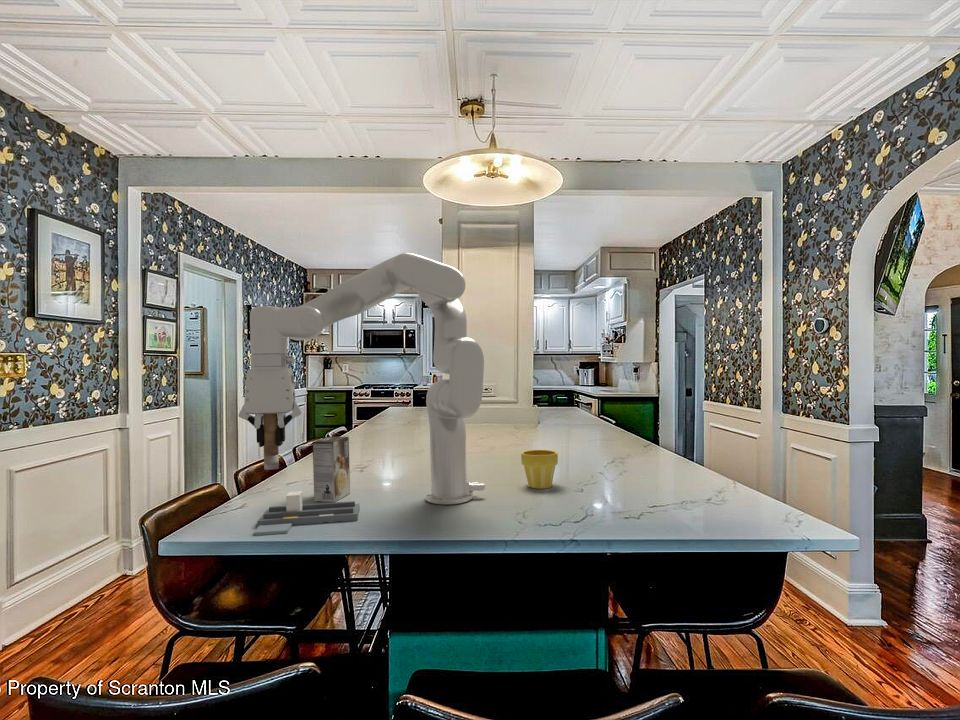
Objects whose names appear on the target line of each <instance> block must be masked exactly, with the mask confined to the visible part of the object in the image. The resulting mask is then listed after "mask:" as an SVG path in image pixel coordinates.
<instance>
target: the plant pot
mask: <svg viewBox="0 0 960 720" xmlns="http://www.w3.org/2000/svg"><path fill="white" fill-rule="evenodd" d="M520 454H521V455H520V458H521V460H520V461H521V464H522V465H523V468H524V472H525V475H526V479H527V480H526V481H527V485H528V487H529V488H533V489H536V490H537V489H538V490H540V489H541V490H543V489H545V490H546V489H549V488H552V486H553V481H554V475H555V470H556V466H557V465H558V460H559V458H558V456H559V454H558V452H557V451H555V450H551V449H528V450H524V451H522V452H520Z"/></svg>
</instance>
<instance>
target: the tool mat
mask: <svg viewBox="0 0 960 720" xmlns="http://www.w3.org/2000/svg"><path fill="white" fill-rule="evenodd" d="M292 526H293V525H292V523H287V524H273V525H259V526H258V525H257V528H256V529H255V531H253V536H263V535H264V536H265V535H266V536H267V535H279V534H280V535H281V534H288V533H289V531H290V530H291V528H292Z"/></svg>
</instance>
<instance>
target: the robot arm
mask: <svg viewBox="0 0 960 720" xmlns="http://www.w3.org/2000/svg"><path fill="white" fill-rule="evenodd" d="M409 289H412V290H415V291H416V292H417V295H418V297H419V299H421V301H422V302H423V303H425V305H427V307H428V308H429V309H430V311H431V313H432V316H433V318H434V338H433V339H434V341H433V344H434V345H433V352H432V353H433V354H432V360H433V361H432V362H433V365H434V367H435V369H436V370H437V371H438V372H440V373H441V374H445V375H449V376H448V377H449V379H448V378H447V379H446V378H445V379H439V380H437V381H435V382H433V383H432V384H431V385H430V387H428V390H427V392H426V399H425V402H426V403H425V405H426V410H427V415H428V422H429V449H430V451H429V453H430V454H429V455H430V491H428V492H426V493H425V496H424V499H425V501H426V502H428V503H431V504H436V505H458V504H459V505H460V504H463V503H466V502H470V501H471V500H472V499H473V498H474V493H473V492H474V491H478V492H479V491H480V492H482V491H485V489H486V488H485V482H478V481H475V482H474V481H473V482H471V481H469V480H468V477H467V476H468V475H467V431H466V430H467V429H466V423H465V419H468V418H471V417H473V416H474V415H475V414H476V413H477V412H478V411H479V410H480V407H481V405H482V400H483V389H484V373H485V372H484V371H485V356H484V352H483V349H482V347H481V345H480V344H479V343H478V342H477V341H476V340H475V339H473V338H470V337H468V336H467V335H468V333H467V331H468V330H467V329H468V327H467V326H468V323H467V315H466V311H465V308H464V306H463V304H462V303H461V301H460V299H459V298H461V297H462V296H463V295H464V293H465V290H466V280H465V277H464V275H463V274H462V272H460V271H459V270H458V269H457V268H455V267H453V266H450V265H448V264H446V263H445V264H444V263H442V262H439V261H436V260H433V259H430V258H428V257H425V256H422V255H419V254H416V253H412V252H411V253H410V252H403V253H399V254H397V255H395V256H393V257H391V258H389V259H386V260H384V261H382V262H380V263H378V264H376V265H374V266H372V267H370V268H368V269H366V270H365V271H362V272H361V273H358V274H356V275H354V276H352V277H351V278H348V279H347V280H344V281H343V282H341V283H340V284H339V283H338V284H337V285H336V286H335V287H333V288H331V289H329V290H328V291H326V292H325V293H322V294H321V295H319V296H317V297H315V298H313V299H311V300H309V301H307V302H305V303H303V304H301V305H299V306H293V307H292V306H290V307H289V306H287V307H281V306H272V305H263V306H255V307H252V309H250V312H249V334H250V335H249V336H250V337H249V339H250V342H249V344H250V369H247V372H246V379H245V386H244V387H245V388H244V400H243V402H244V403H243V406H242V407H241V409H240V411H239V413H238V417H239V418H240V419H243V420H245V421H247V422H249V424H251V425H252V426H253V427H254V429H256V431H255V432H256V443H257V444H258V447H259V448H264V429H263V414H277V417H278V428H277V429H276V445H277V446H278V447H281V446H282V445H283V443H284V442H285V441H286V426H287V425H288V424H289V423H290V422H291V421H292V420H293V419H295V418H297V417H299V416H300V415H302V410H301V408H300V407H299V405H298V404H297V400H296V389H295V387H296V386H295V381H294V380H295V378H294V373H293V369H292V367H291V368H289V365H290V364H294V363H295V357H294V356H291V355H290V356H289V354H288V338H289V339H291V340H293V341H307V340H313V339H315V338H317V337H318V336H320V335H321V334H322V332H323V331H324V329H325V328H327V327H330V326H331V325H334V324H335V323H339V321H342V320H345V319H348V318H351V317H354V316H357V315H360V314H361V313H364V312H366V311H368V310H370V309H372V308H374V307H376V306H378V305H379V304H382V303H383V302H384V301H386V300H388V299H390V298H392V297H394V296H396V295H397V294H399V293H401V292H403V291H405V290H409ZM290 412H291V413H290ZM287 413H290V414H288V415H287Z"/></svg>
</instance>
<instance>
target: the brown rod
mask: <svg viewBox="0 0 960 720" xmlns="http://www.w3.org/2000/svg"><path fill="white" fill-rule="evenodd" d="M277 428H278V417H277V414H263V429H264V446H263V463H264V464H263V465H264V466H263V467H264V468H263V469H264V470H266V471H269V470H272V471H273V470H278V469H279V468H280V463H279V461H280V459H279V457H280V456H279V446H277V445H276V429H277Z"/></svg>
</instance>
